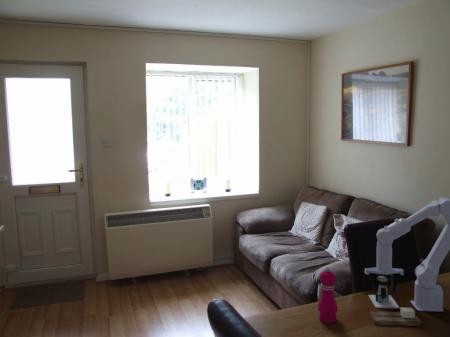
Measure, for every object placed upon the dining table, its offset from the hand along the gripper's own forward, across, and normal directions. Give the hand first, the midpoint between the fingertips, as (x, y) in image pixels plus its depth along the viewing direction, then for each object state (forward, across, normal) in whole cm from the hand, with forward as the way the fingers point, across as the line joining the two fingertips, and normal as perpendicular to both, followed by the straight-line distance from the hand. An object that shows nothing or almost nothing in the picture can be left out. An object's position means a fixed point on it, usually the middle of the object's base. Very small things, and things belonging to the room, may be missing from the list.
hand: (383, 291), depth 153 cm
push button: (+4, 0, 0) cm, 4 cm away
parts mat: (+4, 0, 0) cm, 4 cm away
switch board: (+4, 0, -15) cm, 16 cm away
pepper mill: (+5, -24, -16) cm, 29 cm away
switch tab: (+3, +4, -15) cm, 16 cm away
